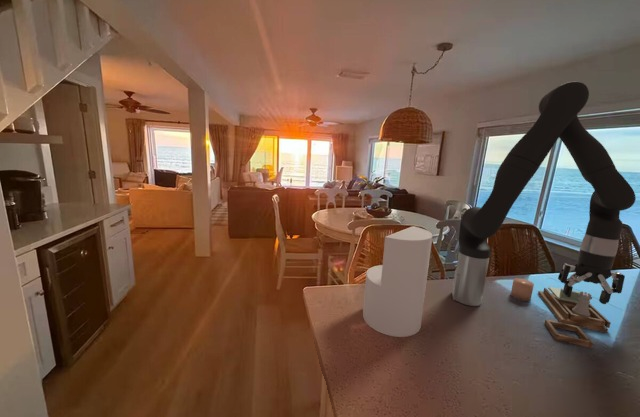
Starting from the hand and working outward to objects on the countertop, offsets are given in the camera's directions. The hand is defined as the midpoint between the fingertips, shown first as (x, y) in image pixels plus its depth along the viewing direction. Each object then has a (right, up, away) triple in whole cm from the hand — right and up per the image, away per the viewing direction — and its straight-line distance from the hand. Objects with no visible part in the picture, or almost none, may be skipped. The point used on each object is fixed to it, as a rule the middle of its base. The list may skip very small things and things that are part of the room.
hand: (584, 299), depth 83 cm
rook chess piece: (0, -6, +1) cm, 6 cm away
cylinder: (-62, -5, -2) cm, 62 cm away
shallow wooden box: (+1, -6, +6) cm, 9 cm away
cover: (+4, -2, +10) cm, 11 cm away
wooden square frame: (-12, -8, -6) cm, 16 cm away
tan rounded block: (-9, -4, +15) cm, 18 cm away
